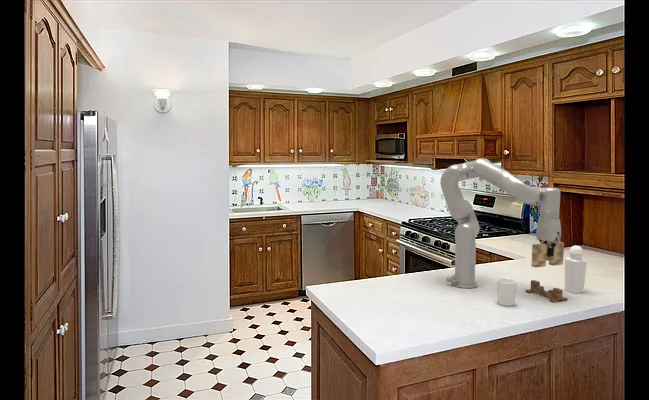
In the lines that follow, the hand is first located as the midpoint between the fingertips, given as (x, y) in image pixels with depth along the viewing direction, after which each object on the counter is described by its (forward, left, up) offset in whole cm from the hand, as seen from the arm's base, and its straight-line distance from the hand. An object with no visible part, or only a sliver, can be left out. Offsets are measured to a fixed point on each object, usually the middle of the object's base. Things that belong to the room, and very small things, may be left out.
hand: (547, 255), depth 198 cm
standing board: (0, 0, -19) cm, 19 cm away
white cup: (-24, -2, -19) cm, 31 cm away
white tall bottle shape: (+18, +1, -19) cm, 26 cm away
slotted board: (0, 0, -5) cm, 5 cm away
